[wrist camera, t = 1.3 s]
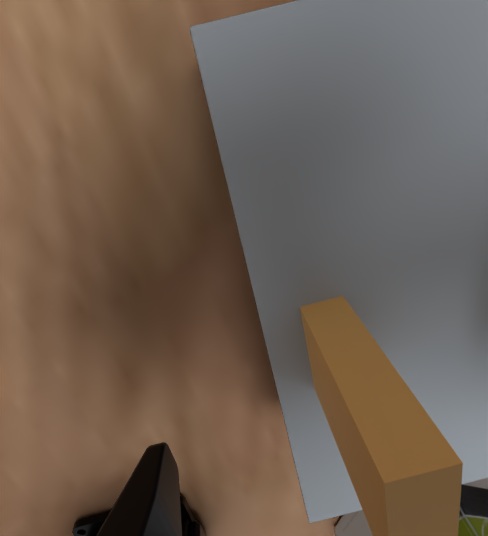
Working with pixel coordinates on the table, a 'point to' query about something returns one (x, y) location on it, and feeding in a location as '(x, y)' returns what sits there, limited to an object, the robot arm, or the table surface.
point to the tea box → (470, 517)
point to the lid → (365, 240)
